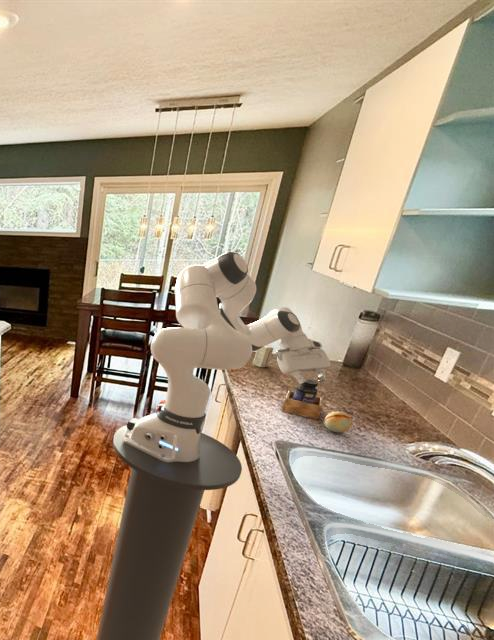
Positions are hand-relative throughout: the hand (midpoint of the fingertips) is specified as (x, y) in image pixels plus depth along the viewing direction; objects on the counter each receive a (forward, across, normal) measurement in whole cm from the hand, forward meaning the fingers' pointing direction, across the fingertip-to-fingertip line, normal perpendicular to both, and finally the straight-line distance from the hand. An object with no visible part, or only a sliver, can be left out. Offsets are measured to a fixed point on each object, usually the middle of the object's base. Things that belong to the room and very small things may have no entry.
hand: (313, 382), depth 141 cm
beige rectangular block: (-23, +31, +40) cm, 56 cm away
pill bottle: (+7, 0, +9) cm, 12 cm away
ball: (+19, -4, -2) cm, 19 cm away
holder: (+8, 0, +9) cm, 12 cm away
